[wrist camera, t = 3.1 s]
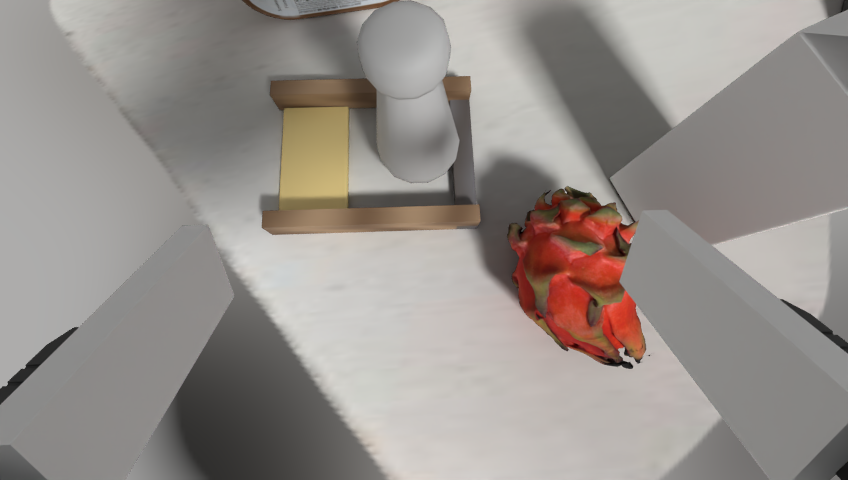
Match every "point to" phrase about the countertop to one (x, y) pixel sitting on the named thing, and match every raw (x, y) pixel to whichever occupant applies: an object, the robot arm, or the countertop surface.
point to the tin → (311, 7)
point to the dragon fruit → (578, 276)
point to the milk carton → (756, 145)
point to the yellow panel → (315, 158)
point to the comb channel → (380, 218)
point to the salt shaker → (410, 89)
